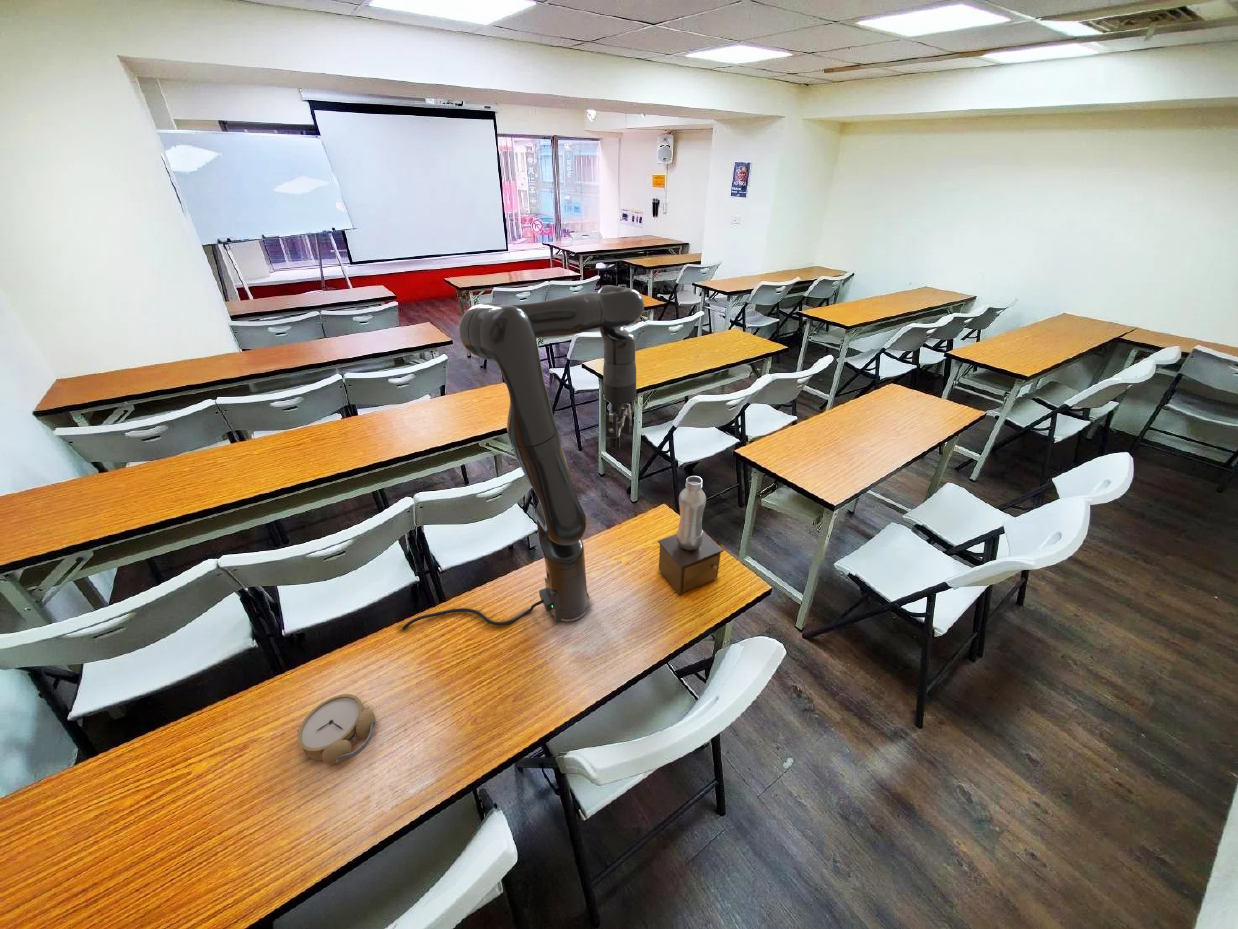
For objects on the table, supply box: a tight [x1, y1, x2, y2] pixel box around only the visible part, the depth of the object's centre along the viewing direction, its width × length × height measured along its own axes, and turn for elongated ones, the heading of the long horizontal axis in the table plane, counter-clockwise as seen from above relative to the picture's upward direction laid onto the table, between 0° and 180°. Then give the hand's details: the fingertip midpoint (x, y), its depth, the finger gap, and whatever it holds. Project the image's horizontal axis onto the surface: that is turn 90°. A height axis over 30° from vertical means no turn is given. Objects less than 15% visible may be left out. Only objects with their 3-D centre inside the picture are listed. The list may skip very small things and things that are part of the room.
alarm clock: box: [296, 693, 377, 766], centre depth 90 cm, size 11×5×15 cm
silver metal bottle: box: [676, 475, 707, 550], centre depth 115 cm, size 6×7×20 cm
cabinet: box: [657, 529, 724, 596], centre depth 122 cm, size 13×12×11 cm
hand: (620, 441), depth 115 cm, fingers open, 8 cm apart
